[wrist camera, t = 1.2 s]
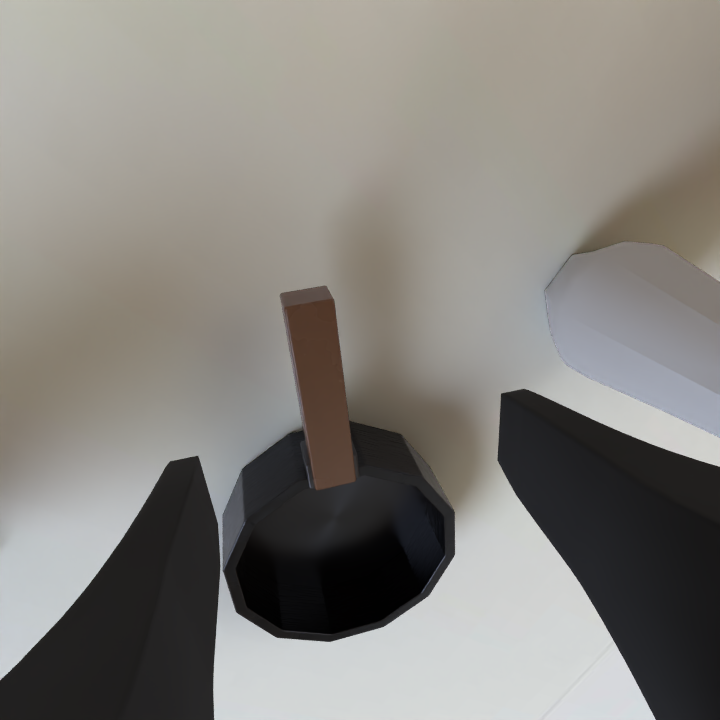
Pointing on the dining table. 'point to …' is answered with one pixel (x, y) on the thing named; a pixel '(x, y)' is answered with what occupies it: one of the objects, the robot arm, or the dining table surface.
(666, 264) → the salt shaker
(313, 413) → the pan
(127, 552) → the robot arm
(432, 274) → the dining table surface
